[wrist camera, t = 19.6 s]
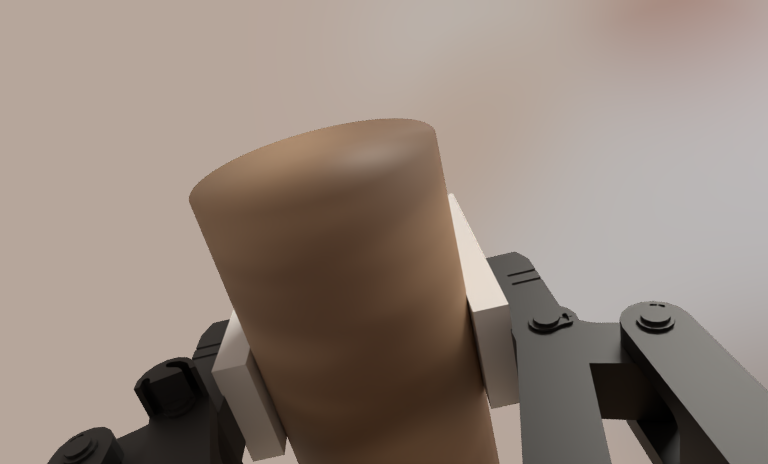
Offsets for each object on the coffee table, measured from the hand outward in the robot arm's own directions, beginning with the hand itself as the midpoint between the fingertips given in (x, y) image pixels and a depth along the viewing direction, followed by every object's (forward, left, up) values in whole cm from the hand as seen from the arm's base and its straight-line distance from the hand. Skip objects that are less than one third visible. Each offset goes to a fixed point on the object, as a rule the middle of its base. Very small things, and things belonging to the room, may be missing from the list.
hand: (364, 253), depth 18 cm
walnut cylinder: (+1, -5, -6) cm, 8 cm away
